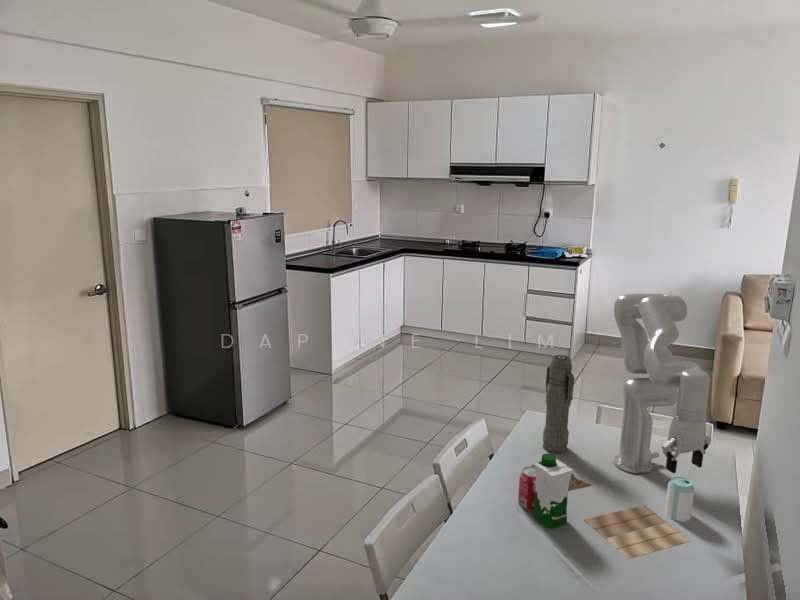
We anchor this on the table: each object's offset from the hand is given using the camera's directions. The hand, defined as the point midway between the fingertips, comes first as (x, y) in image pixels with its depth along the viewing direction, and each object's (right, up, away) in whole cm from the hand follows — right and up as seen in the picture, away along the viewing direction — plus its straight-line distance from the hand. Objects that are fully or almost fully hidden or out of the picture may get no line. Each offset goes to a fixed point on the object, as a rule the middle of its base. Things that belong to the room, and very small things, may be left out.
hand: (683, 468), depth 176 cm
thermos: (-25, -6, +47) cm, 53 cm away
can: (0, -16, +4) cm, 16 cm away
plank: (-17, -16, 0) cm, 24 cm away
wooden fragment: (-29, -11, +25) cm, 39 cm away
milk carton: (-39, -16, +1) cm, 42 cm away
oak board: (-14, -19, -8) cm, 24 cm away
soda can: (-43, -15, +9) cm, 46 cm away
